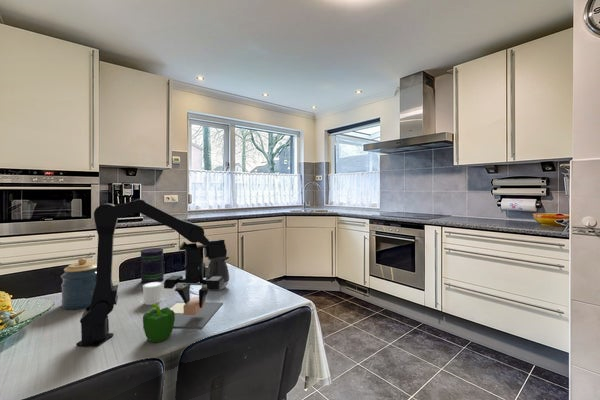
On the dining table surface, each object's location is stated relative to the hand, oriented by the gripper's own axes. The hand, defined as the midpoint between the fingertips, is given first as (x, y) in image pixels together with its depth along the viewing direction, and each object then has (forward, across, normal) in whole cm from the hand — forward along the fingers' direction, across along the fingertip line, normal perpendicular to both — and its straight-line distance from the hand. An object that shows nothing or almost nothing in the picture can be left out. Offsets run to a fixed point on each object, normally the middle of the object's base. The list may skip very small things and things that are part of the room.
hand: (194, 307), depth 97 cm
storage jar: (+4, +38, -39) cm, 55 cm away
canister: (+4, +49, -11) cm, 50 cm away
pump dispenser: (+4, +3, -31) cm, 31 cm away
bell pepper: (+4, +5, +12) cm, 14 cm away
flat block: (+1, 0, 0) cm, 1 cm away
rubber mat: (+4, +4, -4) cm, 7 cm away
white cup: (+4, +23, -14) cm, 27 cm away
